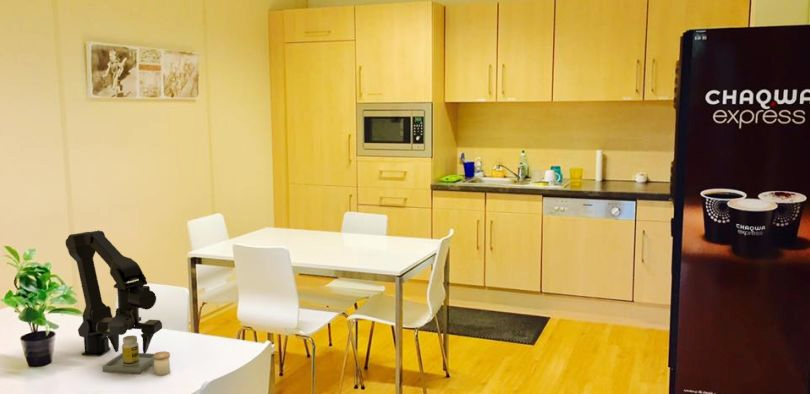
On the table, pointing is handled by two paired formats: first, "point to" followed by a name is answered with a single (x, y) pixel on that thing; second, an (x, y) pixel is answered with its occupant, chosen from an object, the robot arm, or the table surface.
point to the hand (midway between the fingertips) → (130, 352)
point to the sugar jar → (161, 363)
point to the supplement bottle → (130, 351)
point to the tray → (118, 366)
